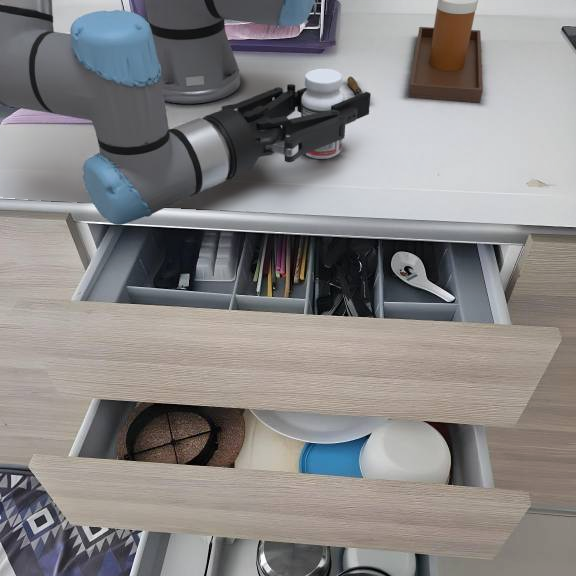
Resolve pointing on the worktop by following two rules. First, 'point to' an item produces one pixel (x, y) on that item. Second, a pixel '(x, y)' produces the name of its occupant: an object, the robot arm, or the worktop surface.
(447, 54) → the amber bottle middle
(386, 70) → the worktop surface
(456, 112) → the worktop surface
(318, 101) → the pill bottle
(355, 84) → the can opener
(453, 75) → the tray
